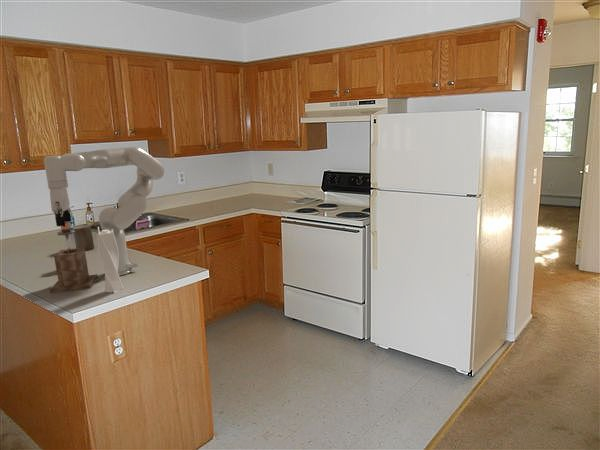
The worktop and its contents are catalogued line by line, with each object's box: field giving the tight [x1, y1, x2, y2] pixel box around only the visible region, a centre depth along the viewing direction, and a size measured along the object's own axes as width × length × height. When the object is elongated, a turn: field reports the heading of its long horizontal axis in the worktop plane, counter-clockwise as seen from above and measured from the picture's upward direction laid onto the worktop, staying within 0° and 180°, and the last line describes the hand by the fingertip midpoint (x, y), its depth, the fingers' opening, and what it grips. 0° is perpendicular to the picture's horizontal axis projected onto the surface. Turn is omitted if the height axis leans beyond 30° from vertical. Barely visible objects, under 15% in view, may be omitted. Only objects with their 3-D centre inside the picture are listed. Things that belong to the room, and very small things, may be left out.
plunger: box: [57, 222, 75, 253], centre depth 202 cm, size 7×7×18 cm
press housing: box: [49, 247, 99, 293], centre depth 204 cm, size 16×15×16 cm
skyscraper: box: [97, 226, 125, 294], centre depth 193 cm, size 8×8×28 cm
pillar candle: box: [72, 224, 95, 252], centre depth 267 cm, size 10×10×15 cm
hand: (64, 223), depth 200 cm, fingers open, 9 cm apart
